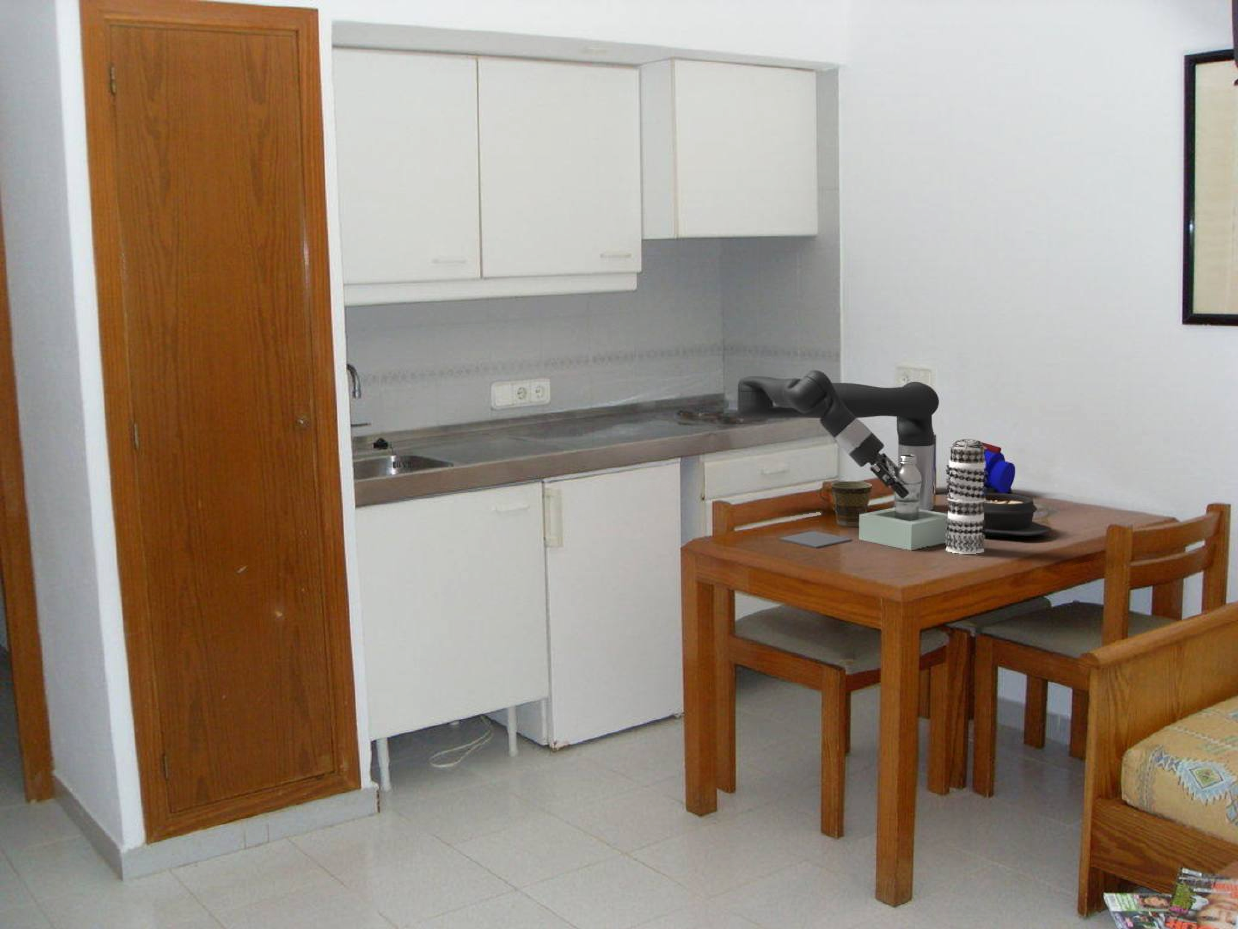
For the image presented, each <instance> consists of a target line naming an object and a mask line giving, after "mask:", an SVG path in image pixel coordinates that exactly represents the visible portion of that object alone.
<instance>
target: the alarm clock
mask: <svg viewBox="0 0 1238 929" xmlns="http://www.w3.org/2000/svg"><path fill="white" fill-rule="evenodd" d="M981 442H982V444H983V446H984V447H987V449H985V461H986V463H985V468H984V470H986V471H987V472H988V475H986V476H984V478H986V479H988V482H986V483H985V482H984V483H983V486H984V487H986V488H987V491H985V492H983V493H1005V494H1013V491H1012V486H1013V484H1014V480H1015V477H1016V466H1015V464H1014V463H1013V462H1010V461H1006V458H1005V455H1004V454H1003V453H1002V447H1001V446H996V445H993V444H990V443H987V442H983V441H981Z"/></svg>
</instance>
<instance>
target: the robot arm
mask: <svg viewBox="0 0 1238 929" xmlns="http://www.w3.org/2000/svg"><path fill="white" fill-rule="evenodd" d="M774 404H775V405H776V406H774ZM939 406H940V399H939V395H938V394H937V392H936V391H935V389H933V388H932V387H931V386H930V385H928V384H926V383H923V382H920V381H910V382H907V383H905V384H904V385H903V386H899V387H896V386H895V387H879V386H873V385H868V384H861V383H853V382H851V383H850V382H832V381H831V380H830V377H828V375H827V374H825V373H824V372H823V371H821V370H817V369H814V370H811V371H809V372H808V373H806V374H805V375H804V377H802V378H801V379H800V378H797V377H792V378H776V377H772V376H771V377H770V376H763V375H760V376H759V375H755V376H754V375H752V376H746V377H742V378H740V379H739V380H738V383H737V415H738V417H739V418H741V419H744V420H773V419H774V420H775V419H776V420H777V419H791V418H795V419H796V418H797V419H798V418H803V419H805V418H809V419H810V418H811V419H819V422H820V424H821V426H822V428H824V429H825V430H826V431H827V432H828V433H829V434H830V436H832V438H834V440H835V441H836V442H837V444H839V446H840V447H841V449H843V451H844V452H845V453H847V455H848V456H849V457H850V458H851V459H852V461H854V462H855V463H856V464H857V465H858V466H859V467H861V468H862V467H865V466H866V465H867V464H869V465H871V466H869V470H870V471H871V472H872V473H873V474H874V475H875V476H876V477H877V478H878V479H879V480H880V481H881V483H882V484H884V486H885V487H887V488H889V489H892V490H893V508H895V502H896V500H895V492H896V493H897V494H898V495H899V496H900V497H901V498H902V499H903V498H905V497H906V496H907V495H908V494H909V491H908V490H907V489H906V488H905V487H904V486H903V485H902V484H901V483H900V482H899V481H898V480H897V478H896V477H895V475H894V474H895V472H896V471H897V470H898V468H899V467H900V465H901V464H900V463H899V461H900V455H916V464H915V467H916V468H917V469H918V471H919V473H920V474H921V477H922V482H921V488H920V495H919V509H922V510H928V511H932V510H934V494H933V486H934V443H935V435H936V434H935V432H934V428H933V415H934V414H935V413H936V412H937V410H938V408H939ZM875 417H893V418H895V417H896V431H897V439H898V440H897V442H898V443H897V446H898V447H897V465H896V464H895V463H894V462H893V461H892V460H891V458H890V457H889V456H888V455H887V454H886V453H885V452H883V453H881V452H880V451H882V450H883V449H884V447H885V444H884V442H882V441H881V440H880V439H879V438H878V437H877V436H876V435H875V434H874V433H873V431H871V429H870V428H868V426H867V425H866V424H865V423H864V422H862V421H861V420H859V419H862V418H875ZM858 418H859V419H858ZM897 481H898V482H897Z"/></svg>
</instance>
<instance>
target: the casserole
mask: <svg viewBox="0 0 1238 929" xmlns="http://www.w3.org/2000/svg"><path fill="white" fill-rule="evenodd" d="M984 494H985V495H987V497H986V501H984V502H983V512H984V520H985V525H983V527H984V528H985V531H984V532H982V533H983V534H984V535H985V537H986V536H987V537H995V538H1012V537H1019V536H1021V537H1022V536H1024V537H1027V536H1028V537H1029V536H1039V535H1044V534H1047V533H1050V532H1051V531H1052V527H1050V526H1047V525H1044V524H1040V523H1038V522H1035V521H1033V517H1034V513H1035V512H1036V511H1037V510H1038V508H1037V506H1036V505H1035V503H1034V500H1033V498H1031V497H1028V496H1024V495H1020V494H1013V493H1012V494H1006V493H984Z"/></svg>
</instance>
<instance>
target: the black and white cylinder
mask: <svg viewBox="0 0 1238 929" xmlns="http://www.w3.org/2000/svg"><path fill="white" fill-rule="evenodd" d="M982 442H983V441H981V440H978V439H970V438H969V439H967V438H966V439H965V438H964V439H957V440H955V441H954V442H953V444H952V445H951V446H949V448H950V452H949V453H950V457H949V464H946V468H947V469H946V470H945V474H946V475H948V477H946V480H945V481H946V483H947V484H946V486H945V488H946V490H947V491H949V492H948V493H947V494H946V500H947V501H948V511H947V514H948V519H947V520H946V523H947V524H949V525H948V526H946V530H948V533H946V538H947V540H946V543H945V545H946V548H945V551H946V552H948V553H950V552H952V553H951V554H954V553H959V554H958V555H962V554H975V555H977V554H976V553H981V552H983V553H985V549H984V547H985V546H986V544H985V541H984V540H985V539H986V535H984V534H983V533H982V532H984V531H985V528H984V527H983V525H985V520H984V512H983V502H984V501H986V497H987V495H985V494H984V493H983V492H985V491H987V488H986V487H984V486H983V483H984V482H985V483H986V482H988V479H986V478H984V476H986V475H988V472H987V471H986V470H984V468H985V463H986V461H985V449H987V447H984V446H983V444H982ZM981 554H982V553H981Z"/></svg>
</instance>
